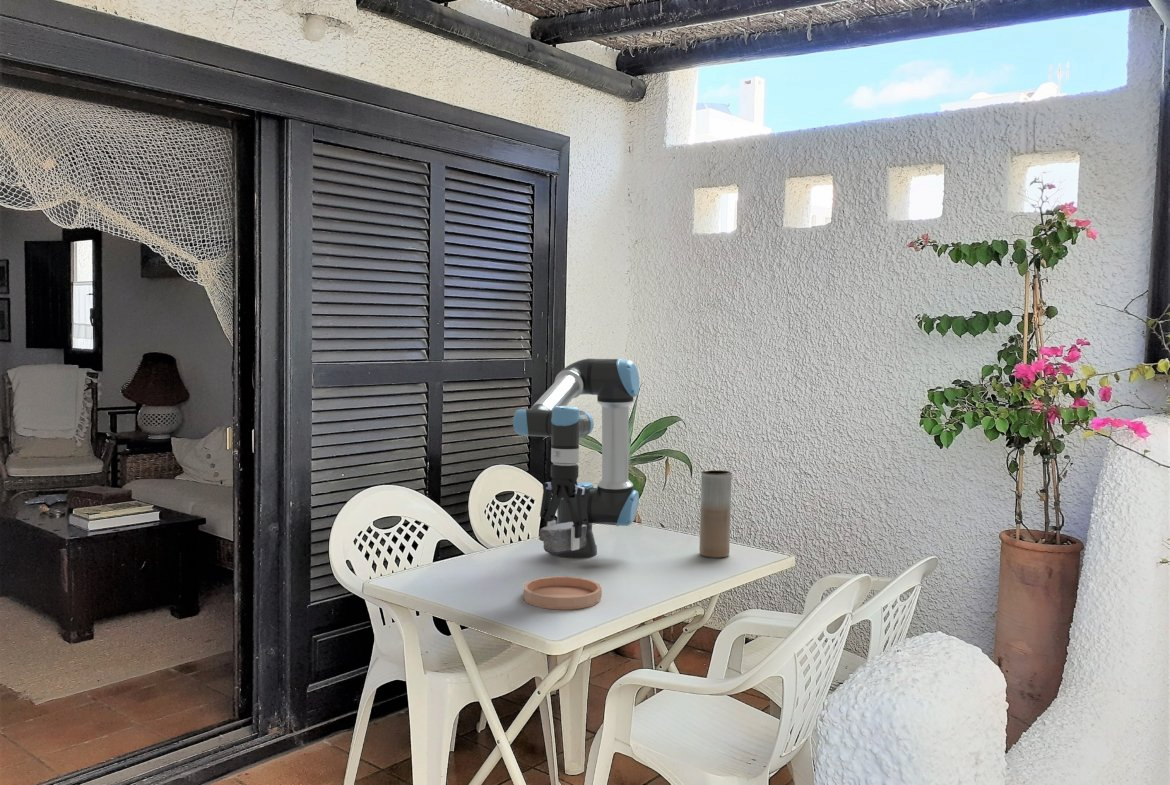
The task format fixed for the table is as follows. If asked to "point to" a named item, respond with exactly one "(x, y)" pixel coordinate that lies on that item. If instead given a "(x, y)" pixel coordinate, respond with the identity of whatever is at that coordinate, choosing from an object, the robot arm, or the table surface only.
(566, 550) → the decorative stone
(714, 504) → the vase
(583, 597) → the saucer
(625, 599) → the table surface
